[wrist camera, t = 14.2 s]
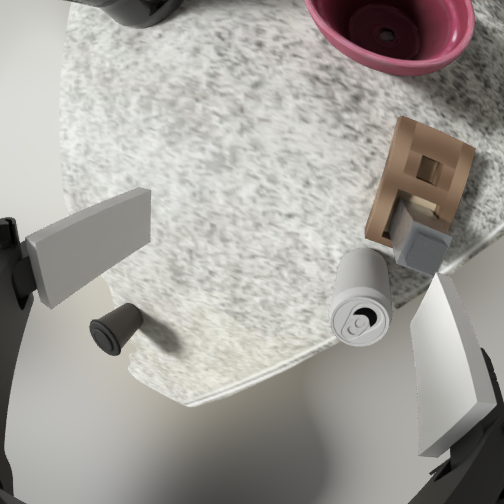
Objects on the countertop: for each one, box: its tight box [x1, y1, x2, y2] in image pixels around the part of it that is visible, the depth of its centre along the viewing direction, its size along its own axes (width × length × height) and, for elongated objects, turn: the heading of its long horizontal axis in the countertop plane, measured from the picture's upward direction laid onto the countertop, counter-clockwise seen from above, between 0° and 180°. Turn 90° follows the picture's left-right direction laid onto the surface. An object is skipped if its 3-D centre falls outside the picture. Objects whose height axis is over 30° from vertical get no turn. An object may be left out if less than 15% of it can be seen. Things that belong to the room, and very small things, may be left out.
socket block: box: [365, 116, 476, 248], centre depth 28 cm, size 14×9×3 cm, turn 168°
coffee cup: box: [90, 303, 143, 356], centre depth 51 cm, size 8×8×10 cm
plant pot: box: [305, 0, 475, 76], centre depth 18 cm, size 14×14×13 cm
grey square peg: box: [388, 197, 453, 278], centre depth 25 cm, size 4×4×11 cm
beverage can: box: [328, 248, 392, 346], centre depth 30 cm, size 6×6×12 cm
